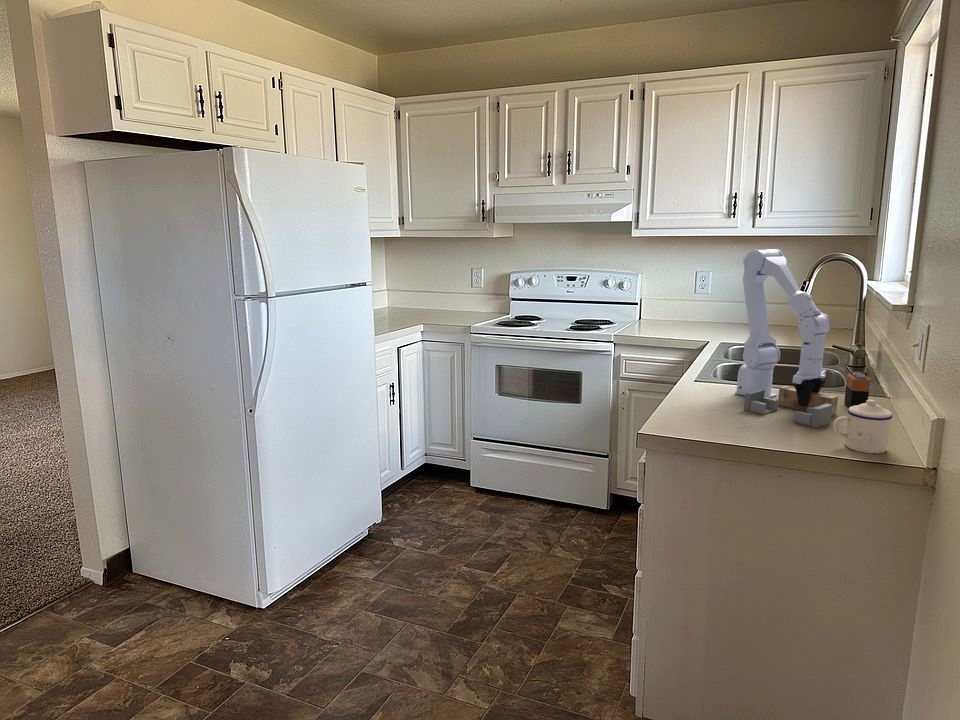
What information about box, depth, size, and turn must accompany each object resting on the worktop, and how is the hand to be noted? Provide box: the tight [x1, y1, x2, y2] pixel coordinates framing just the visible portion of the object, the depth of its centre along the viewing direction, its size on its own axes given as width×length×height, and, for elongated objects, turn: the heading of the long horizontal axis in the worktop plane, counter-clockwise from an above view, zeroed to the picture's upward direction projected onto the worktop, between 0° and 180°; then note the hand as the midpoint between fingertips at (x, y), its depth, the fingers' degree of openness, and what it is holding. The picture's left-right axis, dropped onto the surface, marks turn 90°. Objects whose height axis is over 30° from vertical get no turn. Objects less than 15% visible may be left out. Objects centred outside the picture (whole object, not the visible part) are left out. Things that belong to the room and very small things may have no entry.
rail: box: [777, 385, 839, 417], centre depth 186 cm, size 15×3×5 cm, turn 37°
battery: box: [843, 371, 871, 409], centre depth 188 cm, size 4×7×10 cm, turn 165°
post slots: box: [743, 389, 832, 429], centre depth 180 cm, size 21×7×5 cm, turn 37°
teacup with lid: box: [832, 398, 893, 454], centre depth 155 cm, size 12×9×12 cm
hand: (806, 404), depth 187 cm, fingers open, 3 cm apart
